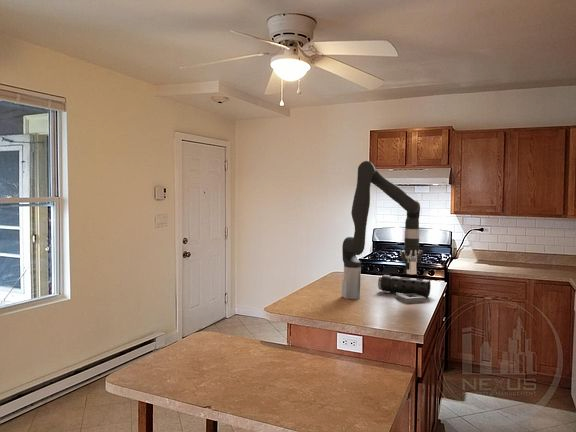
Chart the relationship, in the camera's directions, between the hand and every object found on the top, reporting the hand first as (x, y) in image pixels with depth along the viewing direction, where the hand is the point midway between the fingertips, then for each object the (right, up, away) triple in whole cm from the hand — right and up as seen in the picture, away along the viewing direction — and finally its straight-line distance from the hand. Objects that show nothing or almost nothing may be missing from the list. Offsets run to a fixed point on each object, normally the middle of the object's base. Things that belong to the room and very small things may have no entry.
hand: (410, 269), depth 231 cm
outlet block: (+1, -17, +3) cm, 18 cm away
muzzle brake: (0, -17, +16) cm, 24 cm away
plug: (0, -2, -1) cm, 3 cm away
